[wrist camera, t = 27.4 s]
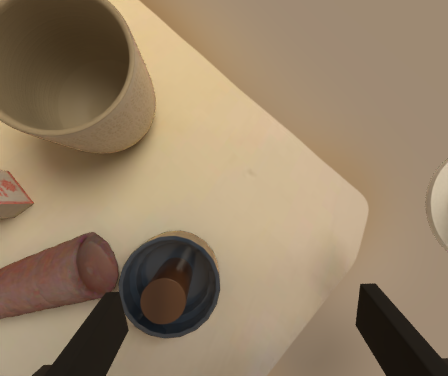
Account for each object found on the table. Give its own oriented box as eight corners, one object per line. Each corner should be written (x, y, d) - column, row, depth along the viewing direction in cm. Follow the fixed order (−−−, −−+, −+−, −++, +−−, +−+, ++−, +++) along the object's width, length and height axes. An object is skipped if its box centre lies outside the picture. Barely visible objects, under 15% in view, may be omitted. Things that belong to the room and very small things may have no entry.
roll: (191, 256, 38) (184, 276, 28) (193, 289, 37) (187, 322, 27) (158, 258, 37) (139, 280, 27) (159, 292, 37) (141, 326, 27)
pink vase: (105, 227, 38) (73, 236, 29) (125, 280, 37) (99, 306, 29) (-24, 277, 36) (-100, 303, 27) (-4, 333, 36) (-74, 377, 27)
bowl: (215, 227, 39) (216, 232, 33) (220, 311, 38) (222, 332, 32) (131, 233, 38) (116, 240, 32) (135, 320, 37) (120, 343, 31)
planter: (98, 180, 38) (23, 167, 23) (43, 97, 38) (-68, 29, 23) (183, 127, 39) (166, 81, 24) (130, 46, 39) (79, -49, 24)
